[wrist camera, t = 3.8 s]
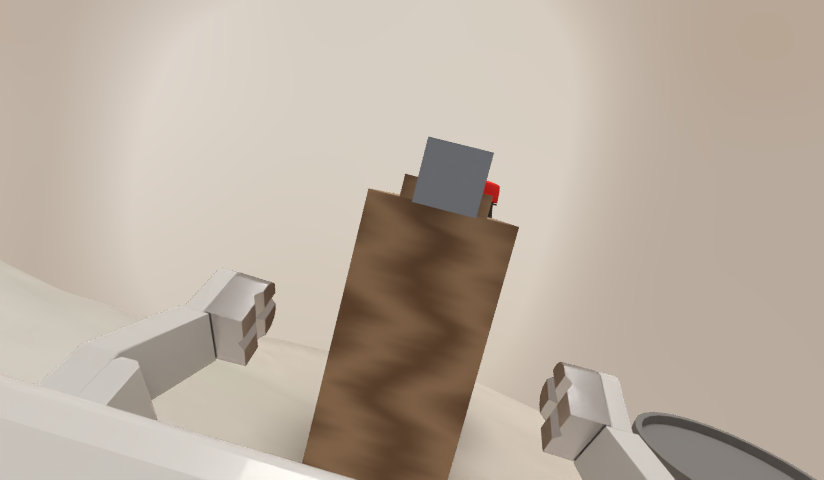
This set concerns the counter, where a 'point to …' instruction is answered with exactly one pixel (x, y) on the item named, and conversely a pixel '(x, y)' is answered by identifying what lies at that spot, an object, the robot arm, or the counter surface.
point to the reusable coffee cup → (708, 451)
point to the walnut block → (408, 338)
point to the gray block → (452, 177)
